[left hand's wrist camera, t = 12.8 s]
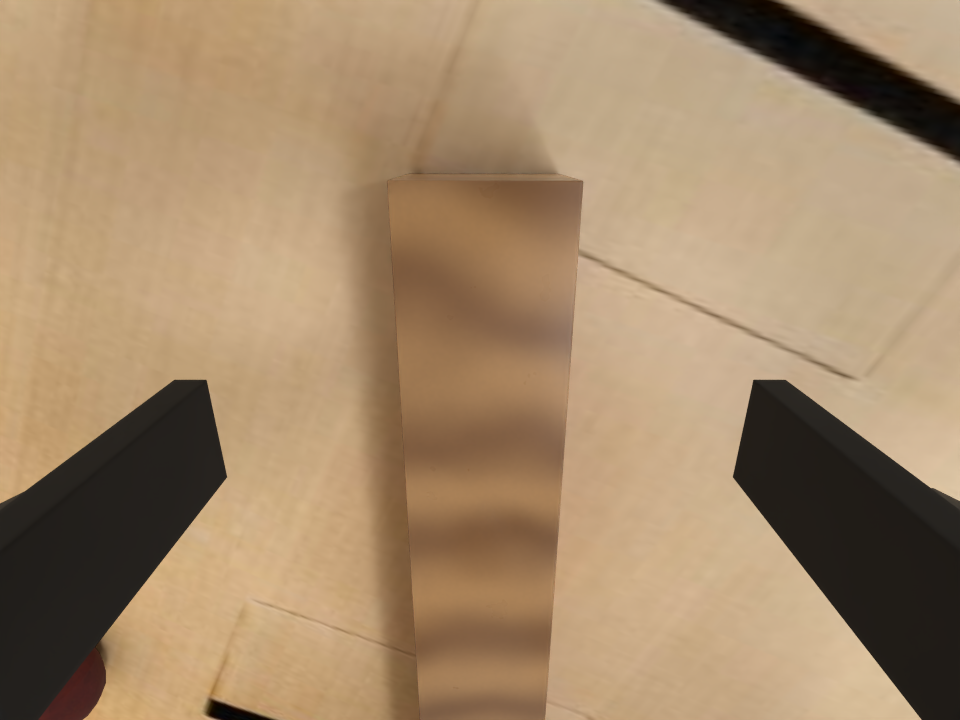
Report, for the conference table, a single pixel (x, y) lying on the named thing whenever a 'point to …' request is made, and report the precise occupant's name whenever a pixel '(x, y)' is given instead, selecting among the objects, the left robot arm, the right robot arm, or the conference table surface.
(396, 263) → the brown wooden bar
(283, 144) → the conference table surface
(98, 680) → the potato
